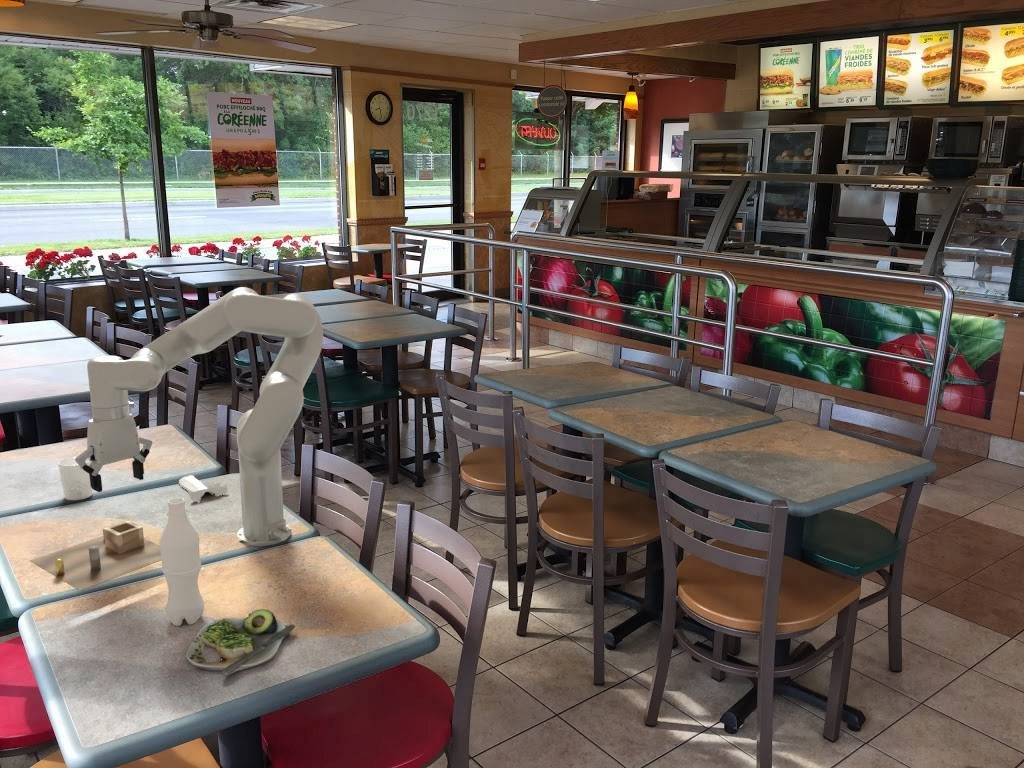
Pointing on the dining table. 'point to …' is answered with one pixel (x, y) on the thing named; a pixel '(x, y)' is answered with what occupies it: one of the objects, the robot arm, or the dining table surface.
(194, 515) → the dining table surface
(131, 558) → the board
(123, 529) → the square frame with tab
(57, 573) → the dowel pin
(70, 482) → the white cup
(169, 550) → the water bottle
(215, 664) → the avocado toast plate
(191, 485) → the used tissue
